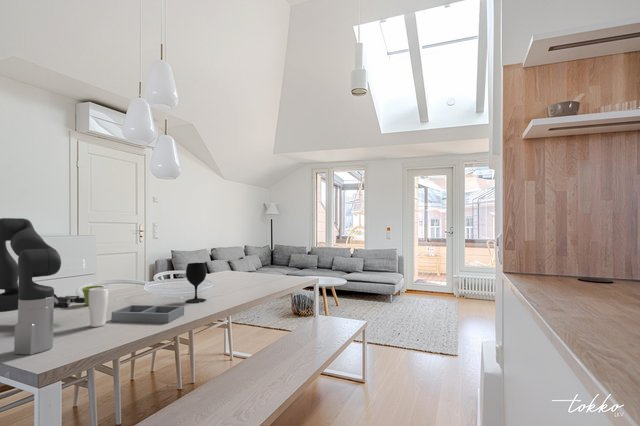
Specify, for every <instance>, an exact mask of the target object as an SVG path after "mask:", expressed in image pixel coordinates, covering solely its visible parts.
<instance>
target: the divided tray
mask: <svg viewBox="0 0 640 426" xmlns="http://www.w3.org/2000/svg"><path fill="white" fill-rule="evenodd" d="M184 315H185V306H184V305H158V304H156V305H154V304H153V305H151V304H150V305H149V304H148V305H147V304H129V305H127V306H124V307H121V308H119V309H116V310H114V311H112V312H111V322H121V323H122V322H126V323H150V324H151V323H155V324H159V323H160V324H169V323H171V322H173V321H175V320H177V319H179V318H180V317H183V316H184Z"/></svg>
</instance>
